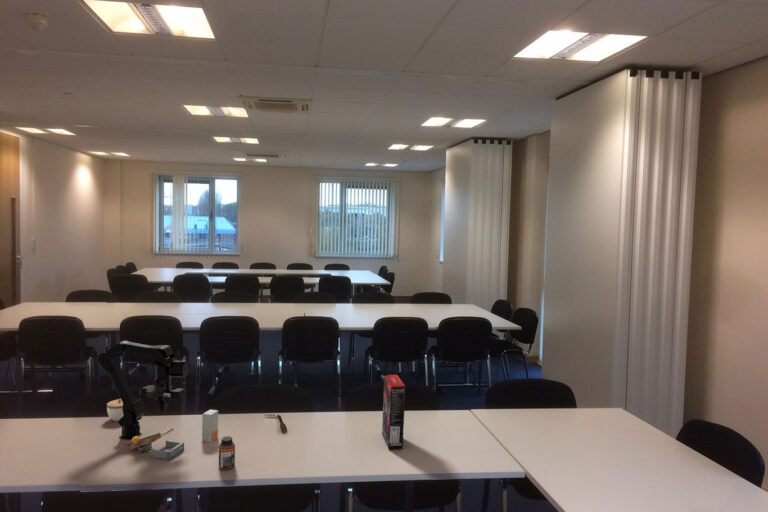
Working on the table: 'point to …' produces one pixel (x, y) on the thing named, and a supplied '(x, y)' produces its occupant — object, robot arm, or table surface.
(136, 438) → the ball
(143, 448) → the fulcrum
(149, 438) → the lever
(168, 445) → the tray
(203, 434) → the skincare box
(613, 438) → the table surface
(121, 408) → the lidded jar
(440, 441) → the table surface
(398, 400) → the graphics card box
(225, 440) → the supplement bottle
